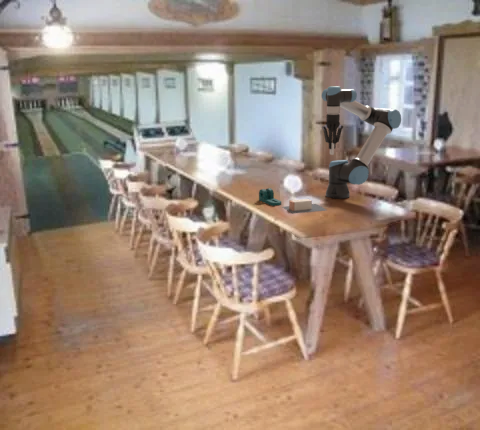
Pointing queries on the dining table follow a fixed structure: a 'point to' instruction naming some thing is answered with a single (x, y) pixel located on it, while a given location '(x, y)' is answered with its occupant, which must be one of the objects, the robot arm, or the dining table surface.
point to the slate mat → (314, 208)
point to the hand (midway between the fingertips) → (331, 154)
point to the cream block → (300, 204)
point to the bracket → (268, 197)
